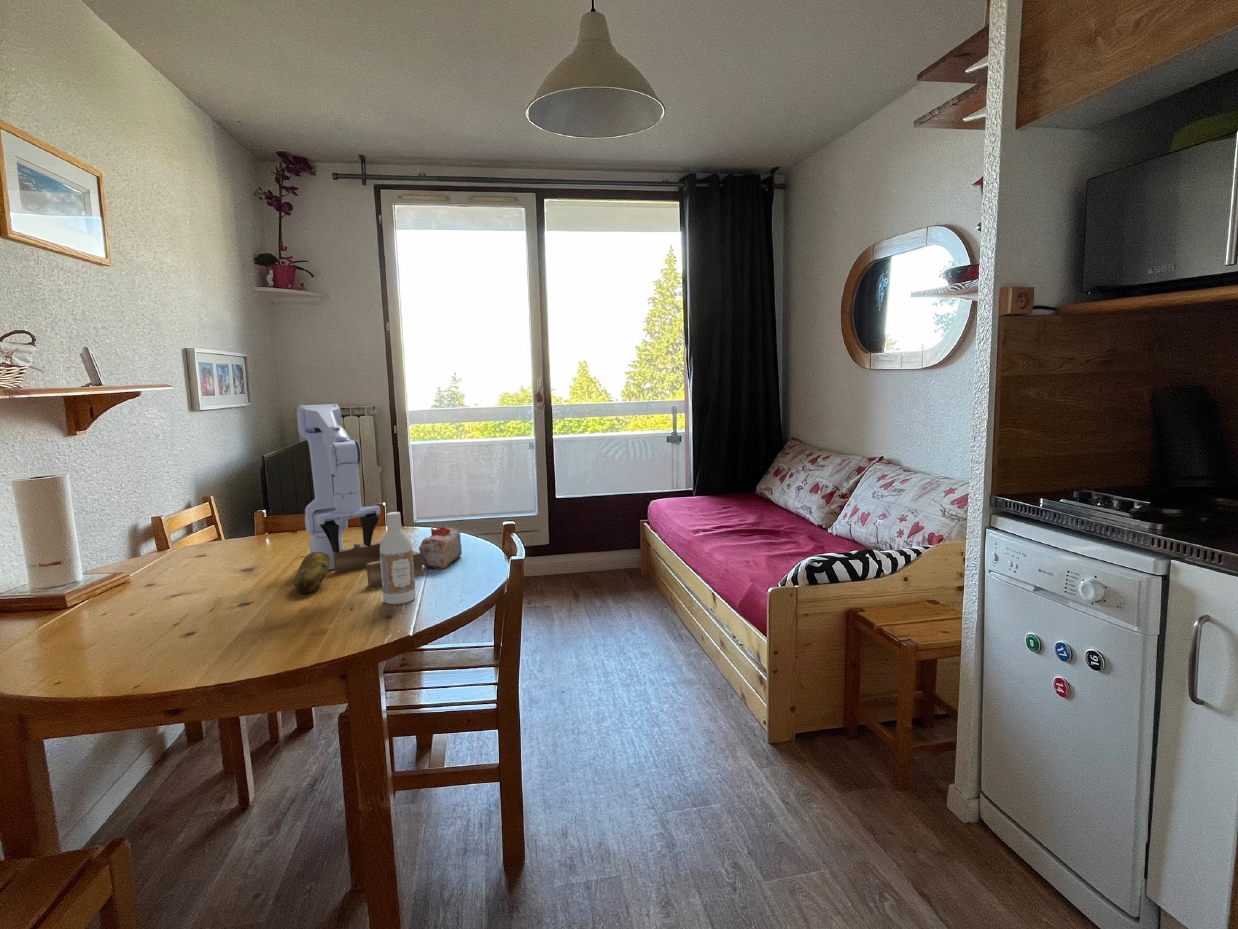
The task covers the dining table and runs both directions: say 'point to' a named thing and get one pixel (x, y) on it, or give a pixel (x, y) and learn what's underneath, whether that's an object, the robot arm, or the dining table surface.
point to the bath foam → (396, 563)
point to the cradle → (368, 561)
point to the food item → (440, 548)
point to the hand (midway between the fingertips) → (352, 548)
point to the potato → (311, 571)
